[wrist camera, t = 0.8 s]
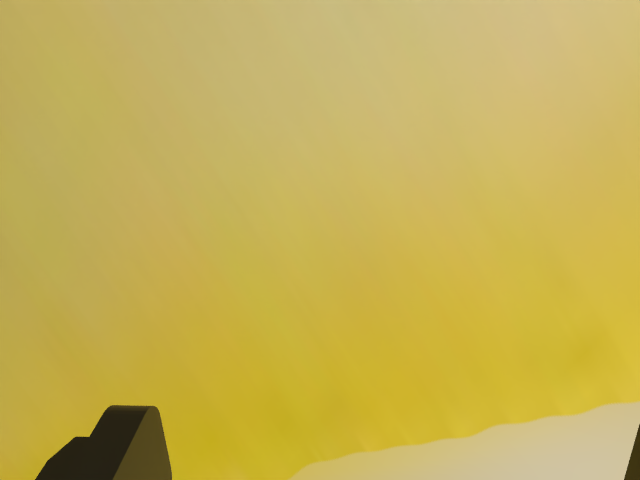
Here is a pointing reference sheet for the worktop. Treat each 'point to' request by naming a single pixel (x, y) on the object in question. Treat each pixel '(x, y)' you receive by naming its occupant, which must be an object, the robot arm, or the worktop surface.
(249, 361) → the worktop surface
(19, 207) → the worktop surface
